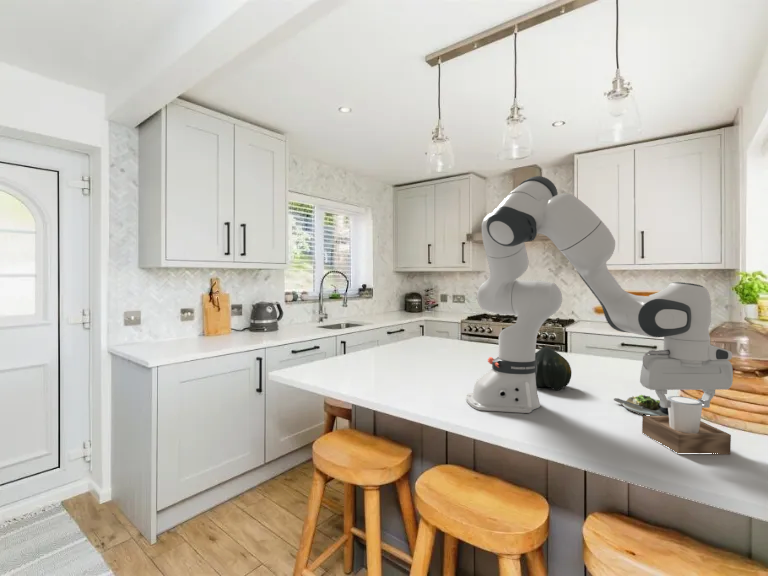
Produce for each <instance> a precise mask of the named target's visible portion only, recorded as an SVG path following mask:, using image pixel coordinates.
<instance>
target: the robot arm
mask: <svg viewBox="0 0 768 576" xmlns="http://www.w3.org/2000/svg"><path fill="white" fill-rule="evenodd" d="M558 193H559V192H558V188H557V186H556V185H555V183H553V182H552V180H550V179H549V178H547V177H545V176H541V175H535V176H531V177H529V178H526V179H525V180H523V181H522V182H521V183H519V185H518V186H517V187H515V188H514V189H513V190H511V191H510V192H509V193H508V194H507V195H506V196H505V197H504V199H502V201H501V202H500V203H499V205H498V206H497V207H496V208H495V209H494V210H493V211H492V212H490V213H488V214H487V215H486V216H485V217H483V219H482V222H481V237H482V238H481V239H482V243H483V248H484V252H485V256H486V259H487V262H488V264H487V265H488V269H489V275H488V277H487V279H486V280H485V281H484V282H482V283H481V284H480V286H479V287H478V289H477V291H476V292H477V293H476V300H477V304H478V305H479V307H480V309H481V310H483V311H486V312H489V313H493V314H498V315H516V316H517V318H516V321H515V323H513V324H511V325H509V326H507V327H505V328H503V329H502V330H501V331H500V333H499V334H498V356H497V357H496V358H493V357H492V356H490V357H488V359H487V362H488V364H490V365H492V366H491V368H492V369H490V370H489V371H487V372H486V373H485V374H483V375H481V376H480V377H479V378H478V379H476V381H475V382H474V387H473V392H471V393H467V395H466V397H465V398H466V399H465V400H466V402H467V404H468V405H469V406H470V407H472V408H473V409H475V410H478V411H489V412H503V413H505V412H506V413H523V414H524V413H525V414H531V412H532V411H534V410H536V409H538V408H540V407H541V403H540V402H541V401H540V398H539V394H538V387H536V376H537V360H536V359H535V353H536V352H537V351H536V348H537V339H538V338H537V337H538V333H539V332H540V330H541V327H542V325H543V324H544V323H545V322H546V321H547V320H548V319H549V318H550V317H552V316H554V315H555V314H556V313H557V312H558V311H559V309H560V308H561V306H562V302H563V295H562V291H561V289H560V288H559V286H558V285H557V284H556V283H554V282H551V281H546V280H539V279H519V278H521V276H523V275H524V274H525V273H526V271H527V270H528V268H529V257H528V253H527V248H526V244H525V243H526V242H527V243H528V242H532V241H534V240H535V239H536V237H537V234H539V235H544V236H545V237H547V238H548V239H549V240H550V241H551V242H552V243H553V245H554V246H555V247H556V248H557V250H559V251H560V253H561V254H562V255H563V256H564V258H565V259H567V260H568V262H569V263H570V264H571V265H572V266H573V268H574V269H575V271H576V272H577V274H578V275H579V277H580V278H581V279H582V281H583V282H584V283H585V285H586V286H587V287H588V289H589V291H591V293H592V294H593V295H594V297H595V298H596V299H597V301H598V302H599V304H600V306H601V309H602V311H603V313H604V314H603V315H604V317H605V320H606V322H607V324H608V325H609V326H610V327H611V328H613V330H615V331H617V332H620V333H629V334H635V335H639V336H645V337H648V338H649V337H650V338H663V349H661V350H660V349H659V350H654V349H652V350H648V352H645V354H643V356H642V364H641V370H640V377H639V383H640V384H641V386H642V387H644V388H645V389H649V390H651V391H654V392H655V394H656V396H657V397H658V400H660V406H661V407H663V408H671V401H670V400H667V398H668V397H666V395H668V391H669V390H670V391H675V390H676V391H683V390H684V391H690V390H692V391H693V390H695V391H697V390H700V391H701V392H703V394H702V396H701V397H700V398H697V400H699V401H701V402H702V403H703V406H702V409H704V408H705V409H708V408H710V406H711V401H712V400H713V398H714V397H715V395H716V390H720V391H721V390H725V391H726V390H729V389H730V388H731V387H732V385H733V379H734V377H733V374H734V373H733V365H732V362H731V360H732V358H733V353H732V351H730V350H729V349H728V350H727V349H725V348H722V347H718V346H716V345H713V344H711V336H710V333H709V332H710V331H709V329H710V328H709V327H710V325H711V323H712V302H711V295H710V293H709V290H708V289H707V287H705V286H703V285H700V284H697V283H690V282H688V283H687V282H681V281H680V282H679V281H675V282H670V283H669V284H668V285H667V286H666V287H665V288H663V289H662V290H659V291H658V292H656V293H652V294H649V295H646V296H645V295H637V294H633V293H630V292H629V291H626V290H625V289H624V288H622V286H621V285H620V284H619V282H618V281H617V280H616V278H615V277H614V276H613V274H612V273H611V272H610V270H609V269H608V266H607V262H608V261H609V260H610V259H611V258H612V256H613V254H614V252H615V248H616V240H615V238H614V235H613V234H612V232H611V230H610V229H609V228H608V226H607V225H606V224H605V223H604V222H603V221H602V220H601V218H600V217H599V216H598V215H597V214H596V213H595V212H594V211H593V210H592V209H591V208H590V207H588V206H587V205H586V204H585V203H584V202H583V201H582V200H580V199H579V198H577V197H576V195H573V194H572V193H566V192H564V193H559V194H558Z"/></svg>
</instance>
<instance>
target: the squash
mask: <svg viewBox="0 0 768 576" xmlns="http://www.w3.org/2000/svg"><path fill="white" fill-rule="evenodd" d="M535 359H536V360H537V376H536V387H537V388H543V387H544V388H545V387H548V388H551V389H552V390H555V391H558V390H561V389H562V388H565V387H567V386H568V385H569V383H570V381H571V378H572V368H571V364H570V363H569V362H568V360H567V359H566V358H564V356H563V355H561V354H560V353H558V351H555V350H554V349H552V348H551V347H549V346H547V345H546V346H544V347H542V348H540V349H539V350H537V351H536V352H535Z"/></svg>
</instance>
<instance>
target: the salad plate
mask: <svg viewBox="0 0 768 576" xmlns="http://www.w3.org/2000/svg"><path fill="white" fill-rule="evenodd" d="M613 401H614V402H617V403H619V404H620V405H622V406H623V407H624V408H625V409H627V410H629V411H630V412H632V411H633V413H634V412H636V413H635V414H637V413H640V414H645V415H650V416H669V413H668V408H663V407H661V406H660V399H655V398H652V397H651V396H650V395H645V394H639V395H637V396H636V395H635V396H631V397H628V398H627V399H626V400H624V399H621V398H618V397H617V398H616V397H615V398H613ZM640 414H639V415H640ZM645 415H644V416H645Z"/></svg>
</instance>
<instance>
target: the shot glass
mask: <svg viewBox="0 0 768 576" xmlns="http://www.w3.org/2000/svg"><path fill="white" fill-rule="evenodd" d="M666 398H667V400H670V401H671V408H668V413H669V425H670V427H671V428H672V429H674V430H677V431H680V432H685V433H698V432H699V427H700V421H701V419H702V411H703V408H702V406H703V403H702V402H701V401H699V400H698V399H695V398H692V397H687V396H677V395H676V396H675V395H674V396H673V395H670V396H668V397H666Z"/></svg>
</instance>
